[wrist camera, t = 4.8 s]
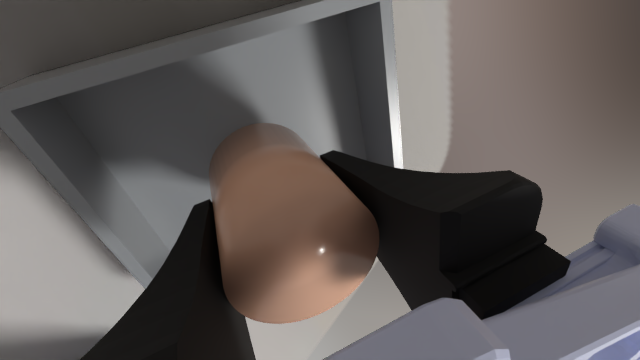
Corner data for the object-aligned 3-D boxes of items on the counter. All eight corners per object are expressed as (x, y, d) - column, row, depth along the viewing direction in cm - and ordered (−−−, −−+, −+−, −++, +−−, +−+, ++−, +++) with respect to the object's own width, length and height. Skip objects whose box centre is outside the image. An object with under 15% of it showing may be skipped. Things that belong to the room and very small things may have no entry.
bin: (183, 279, 18) (183, 331, 15) (29, 75, 11) (-25, 99, 8) (375, 194, 20) (407, 224, 17) (347, -13, 13) (390, -19, 11)
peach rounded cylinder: (233, 231, 14) (258, 346, 9) (188, 147, 12) (189, 242, 7) (321, 193, 15) (387, 279, 10) (297, 107, 12) (367, 165, 8)
